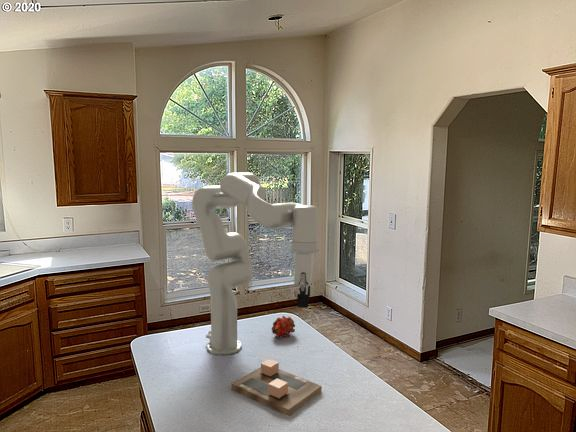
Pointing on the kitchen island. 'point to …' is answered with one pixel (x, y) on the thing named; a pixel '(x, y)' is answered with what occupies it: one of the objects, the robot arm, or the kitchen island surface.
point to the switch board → (257, 390)
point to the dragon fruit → (283, 327)
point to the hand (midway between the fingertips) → (303, 301)
